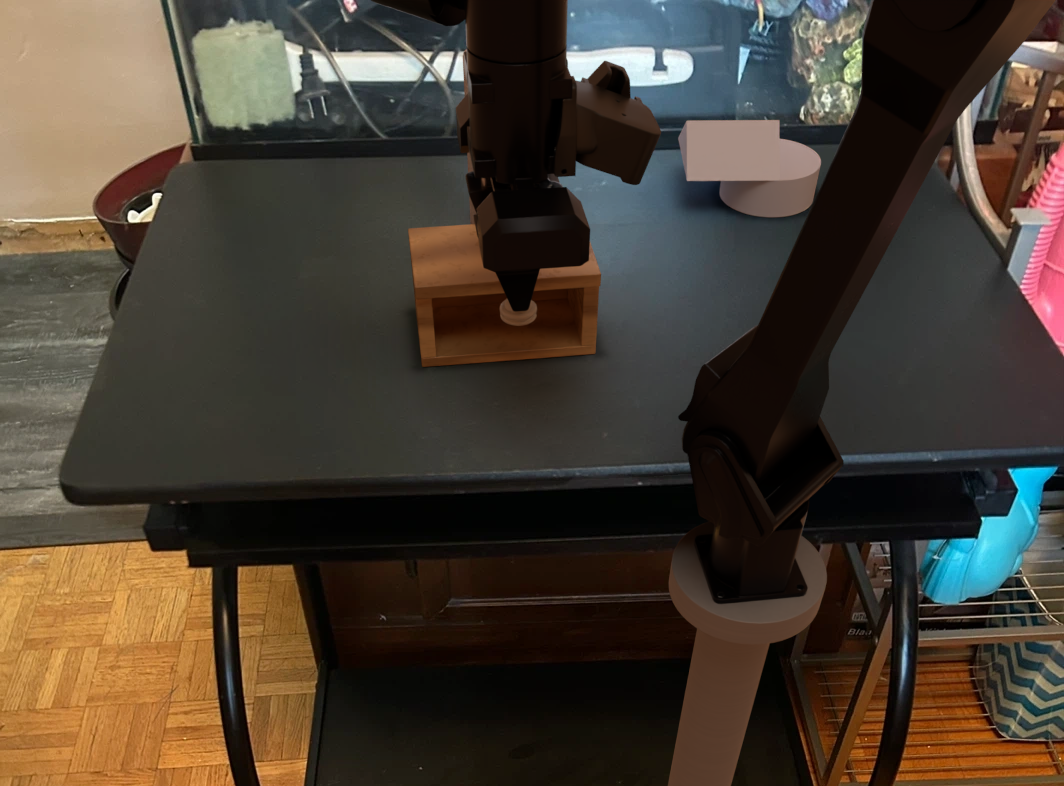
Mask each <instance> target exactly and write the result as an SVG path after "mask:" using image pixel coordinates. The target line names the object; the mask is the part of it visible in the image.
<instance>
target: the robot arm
mask: <svg viewBox="0 0 1064 786" xmlns="http://www.w3.org/2000/svg"><path fill="white" fill-rule="evenodd" d="M370 1H371V2H372V3H375V4H378V5H381V6H383V7H387V8H390V9H393V10H396V11H398V12H402V13H404V14H407V15H411V16H414V17H417V18H419V19H423V20H426V21H429V22H432V23H435V24H437V25H441V26H444V27H456V26H458V25H460V24H461V23H463V22H465V23H464V24H465V42H466V43H465V44H466V49H467V52H464V51H463V52H464V69H465V75H466V79H467V83H468V93H467V94H466V96H465V95H464V97H463V98H461V100H460V101H459V103H458V104H457V105H456V106H455V119H456V137H457V144H458V147H459V152H460V154H467V153H469V152H470V156H471V161H472V166H473V171H471V172H469V173H468V172H467V173H466V174H465V183H466V187H467V192H468V193H467V194H468V197H469V196H470V199H471V201H472V204H473V206H474V209H475V211H476V214H475V215H473V217H474V222H475V227H476V232H477V236H478V239H479V248H480V253H481V258H482V263H483V268H485V269H488V270H490V271H493V272H495V273H496V275H497V277H498V279H499V282H500V284H501V286H502V288H503V290H504V293H505V295H506V297H507V299H508V302H509V304H510V306H511V308H512V310H513V311H515V312H519V311H527V310H528V309H529V307H530V303H531V299H532V296H533V292H534V289H535V285H536V282H537V278H538V275H539V271H540V269H546V268H560V267H575V266H582V265H583V264H585V263H586V262H587V261H589V247H590V242H591V226H590V224H589V221H588V218H587V215H586V212H585V210H584V207H583V206H584V205H583V203H582V201H581V200H580V199H579V197H577V196H576V195H575V194H574V193H573V192H572V191H571V190H570V189H569V188H568V187H567V186H563V185H562V183H561V182H560V178H566V177H576V172H577V171H576V170H577V163H578V164H580V165H582V166H584V167H586V168H590V169H593V170H595V171H599V172H601V173H605V174H608V175H611V176H615V177H617V178H620V180H621V182H622V183H624V184H628V185H631V186H638V185H640V184H641V182H642V179H643V177H644V175H645V172H646V170H647V168H648V165H649V163H650V161H651V158H652V156H653V154H654V151H655V149H656V146H657V144H658V142H659V139H660V137H661V134H662V130H661V128H660V125H659V123H658V122H657V119H656V117H655V116H654V113H653V112H652V110H651V109H650V107H649V106H647V105H646V104H644V102H643V101H642V98H641V97H639V96H636V95H635V96H634V98H632V97H631V95H632V93H631V80H630V79H631V78H630V76H629V74H628V73H627V70H626V68H625V67H623V66H622V65H619V64H617V63H614V62H611V61H608V60H604V61H603V62H602V63H601V64H600V65H598V67H597V68H596V69H595V70H594V71H593V72H592V73H591V74H590V75H589V76H588V77H587V78H586V77H584V76H583V77H581V79H580V81H578V80H576V78H575V76H574V75H571V72H570V71H569V61H568V59H567V53H568V52H567V51H568V46H567V44H568V43H567V42H568V6H569V5H568V4H569V3H568V2H569V0H370ZM1055 2H1056V0H870V3H869V6H868V10H867V15H866V17H865V22H864V25H863V29H862V35H861V74H860V75H861V76H860V77H861V78H860V93H859V96H858V100H857V103H856V107H855V108H854V111H853V113H852V115H851V118H850V120H849V122H848V124H847V127H846V129H845V130H844V133H843V136H842V138H841V140H840V142H839V144H838V147H837V149H836V150H835V153H834V156H833V157H832V160H831V162H830V164H829V167H828V169H827V170H826V174H825V175H824V177H823V180H822V182H821V184H820V187H819V188H818V191H817V193H816V195H815V197H814V199H813V202H812V204H811V206H810V208H809V210H808V213H807V215H806V218H805V220H804V222H803V225H802V226H801V229H800V231H799V233H798V235H797V238H796V240H795V241H794V242H795V243H794V244H793V246H792V249H791V251H790V253H789V255H788V257H787V259H786V262H785V263H784V267H783V269H782V271H781V273H780V275H779V277H778V279H777V282H776V284H775V287H774V289H773V291H772V293H771V295H770V298H769V299H768V302H767V304H766V306H765V309H764V311H763V313H762V315H761V318H760V320H759V322H758V323H757V324H755V325H754V326H753V327H752V328H750V329H749V330H747V331H746V332H745V333H744V334H743V335H741V336H740V337H738V338H737V339H735V340H734V341H733V342H732V343H730V344H729V345H728V346H726V347H725V348H723V349H722V350H721V351H719V353H717V354H716V355H714V356H713V357H712V358H710V359H709V360H708V361H706V362H705V363H704V364H702V365H701V367H700V369H699V371H698V373H697V376H696V378H695V382H694V387H693V391H692V392H693V393H692V396H691V399H690V401H689V403H688V405H687V407H686V408H685V410H682V412H681V413H680V414H678V416H677V418H678V420H679V421H680V422H686V424H685V426H684V428H683V430H682V435H681V448H682V451H683V453H685V454H686V455H687V458H688V459H687V460H688V465H689V470H690V475H691V481H692V486H693V491H694V496H695V502H696V508H697V513H698V516H699V517H700V518H702V519H704V520H706V521H707V522H709V521H710V522H712V523H714V531H713V534H706V535H698V536H696V537H695V540H694V546H695V549H696V552H697V555H698V558H699V561H700V564H701V567H702V570H703V573H704V576H705V578H706V581H707V584H708V587H709V590H710V593H711V596H712V599H713V601H714V602H715V603H717V604H729V603H740V602H750V601H761V600H771V599H781V598H792V597H802V596H804V595H806V593H807V589H808V587H807V584H806V582H805V580H804V577H803V575H802V573H801V570H800V568H799V565H798V563H797V561H796V558H795V556H796V552H797V549H798V545H799V541H800V538H801V536H802V535H803V531H804V526H805V523H806V519H807V516H808V512H809V507H810V498H811V497H813V496H814V495H815V494H816V493H817V492H818V491H819V490H820V489H821V488H822V487H823V486H826V485H827V484H828V483H829V482H830V481H832V479H833V478H834V477H835V475H836V474H837V473H838V472H839V471H840V469H842V467H844V466H843V465H844V459H843V457H842V454H841V453H840V452H839V450H838V449H839V448H838V447H837V446H836V443H835V442H834V440H833V438H832V436H831V434H830V432H829V430H828V429H827V426H826V425H825V423H824V421H823V420H822V417H821V414H822V411H823V407H824V405H825V402H826V399H827V396H828V393H829V391H830V373H829V371H830V369H829V368H830V366H829V361H830V358H831V355H832V352H833V350H834V348H835V346H836V345H837V343H838V340H839V339H840V337H841V335H842V333H843V331H844V330H845V328H846V326H847V324H848V323H849V321H850V318H851V317H852V315H853V313H854V311H855V309H856V308H857V306H858V303H859V302H860V300H861V298H862V296H863V295H864V293H865V291H866V289H867V288H868V285H869V283H870V282H871V280H872V278H873V276H874V274H875V272H876V271H877V269H878V267H879V265H880V263H881V261H882V260H883V257H884V255H885V254H886V252H887V250H888V249H889V246H890V245H891V243H892V241H893V239H894V237H895V236H896V233H897V232H898V230H899V228H900V226H901V224H902V222H903V221H904V219H905V217H906V215H907V213H908V212H909V210H910V207H911V206H912V204H913V202H914V200H915V199H916V197H917V194H918V193H919V191H920V189H921V188H922V185H923V183H924V182H925V181H926V178H927V177H928V175H929V173H930V171H931V169H932V167H933V166H934V164H935V161H936V159H937V158H938V156H939V154H940V152H941V150H942V148H943V147H944V145H945V143H946V141H947V140H948V137H949V136H950V133H951V132H952V130H953V128H954V127H955V125H956V122H957V121H958V119H959V118H960V117H961V115H962V114H963V113H964V112H965V110H966V109H967V108H968V107H969V106H970V104H971V103H972V102H973V101H974V100H975V99H976V98H977V96H978V95H979V94H980V93H981V92H982V91H983V90H984V88H985V87H986V86H987V85H988V84H989V83H990V81H991V80H992V79H993V78H994V77H995V76H996V75H997V73H998V72H999V71H1000V70H1001V69H1002V68H1003V67H1004V65H1006V63H1008V61H1009V60H1010V59H1011V58H1012V57H1013V55H1014V54H1015V53H1016V52H1017V51H1018V50H1019V48H1021V46H1022V45H1023V44H1024V42H1025V41H1026V40H1027V38H1028V37H1029V36H1030V34H1031V33H1032V32H1033V31H1034V30H1035V28H1036V27H1037V26H1038V24H1039V23H1040V21H1041V20H1042V19H1043V17H1044V16H1045V15H1046V14H1047V12H1049V9H1050V8H1051V7H1052V6H1053V4H1054V3H1055ZM799 589H801V590H799ZM718 596H721V597H718Z"/></svg>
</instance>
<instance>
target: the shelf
mask: <svg viewBox="0 0 1064 786" xmlns="http://www.w3.org/2000/svg"><path fill="white" fill-rule="evenodd" d="M407 232H408V243H409V244H408V245H409V252H410V253H409V254H410V264H411V274H412V287H413V295H414V306H415V308H414V309H415V315H416V316H415V317H416V318H415V319H416V326H417V333H418V342H419V353H420V361H421V367H422V368H428V367H439V366H441V367H442V366H455V365H467V364H468V365H469V364H481V363H493V362H505V361H507V362H509V361H522V360H533V359H534V360H535V359H546V358H547V359H548V358H559V357H573V356H585V355H586V356H587V355H595V354H596V352H597V351H596V350H597V347H596V346H597V335H598V318H599V317H598V315H599V297H600V287H601V286H602V272H601V270H600V267H599V264H598V260H597V257H596V254H595V251H594V249H593V245H592V243H591V241H590V247H589V261H587V262H586V263H585V264H583V265H582V266H575V267H560V268H546V269H540V271H539V275H538V278H537V282H536V285H535V289H534V292H533V296H532V299H531V300H532V301H534V302H535V304H536V306H537V312H536V314H537V315H536V318H535V320H534V321H533V322H531V323H529V324H527V325H523V326H514V325H510V324H507V323H505V322H504V321H503V320H502V319H501V316H500V314H501V313H500V305H501V303H502V302H503V301H505V300H506V299H507V297H506V295H505V293H504V290H503V288H502V286H501V284H500V282H499V279H498V277H497V275H496V273H495V272H493V271H490V270H488V269H485V268H483V263H482V258H481V253H480V248H479V239H478V236H477V232H476V227H475V224H471V223H470V224H457V225H455V224H454V225H439V226H427V227H425V226H424V227H412V228H411V227H409V228H408V229H407Z"/></svg>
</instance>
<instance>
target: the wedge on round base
mask: <svg viewBox="0 0 1064 786" xmlns="http://www.w3.org/2000/svg"><path fill="white" fill-rule="evenodd" d="M677 140H678V145H679V149H680V154H681V158H682V159H681V160H682V164H683V168H684V173H685V179H686V182H720V185H719V197H720V199H721V201H722V202H723V203H724V204H725V205H726V206H728V208H729V207H730V208H731V209H733V210H735V211H737V212H739V213H742V214H746V215H748V216H749V215H750V216H753V217H760V218H784V217H790V216H794V215H797V214H800V213H802V212H804V211H806V210H807V209H810V208H811V206H812V204H813V202H814V199H815V194H816V189H817V188H816V187H817V184H818V181H819V180H818V179H819V175H820V169H821V165H822V159H821V156H820V155H819V154H818V153H817V152H816V151H815V150H814V149H813V148H811V147H810V146H808V145H805V144H803V143H800V142H798V141H793V140H790V139H786V138H785V139H784V138H780V119H739V120H738V119H736V120H735V119H734V120H733V119H727V120H726V119H724V120H723V119H720V120H719V119H717V120H716V119H714V120H713V119H712V120H710V119H709V120H708V119H707V120H706V119H705V120H703V119H702V120H701V119H699V120H697V119H696V120H686V121H685V123H684V125H683V127H682V129H681V132H680V133H679V135H678V137H677Z"/></svg>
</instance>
